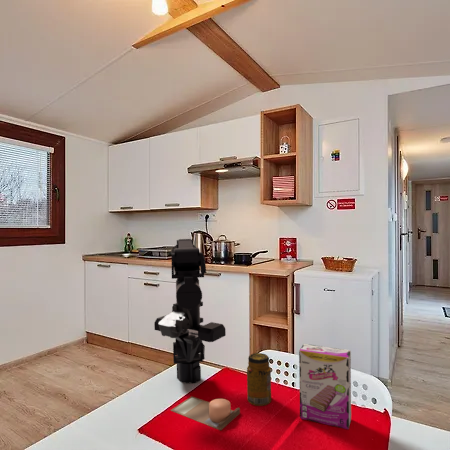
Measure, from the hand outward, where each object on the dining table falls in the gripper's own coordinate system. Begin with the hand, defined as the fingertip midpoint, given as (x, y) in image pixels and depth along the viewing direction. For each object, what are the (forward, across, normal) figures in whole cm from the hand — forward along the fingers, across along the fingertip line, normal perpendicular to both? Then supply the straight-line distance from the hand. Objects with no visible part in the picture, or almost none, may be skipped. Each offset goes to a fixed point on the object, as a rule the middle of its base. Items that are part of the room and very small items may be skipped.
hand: (189, 361), depth 86 cm
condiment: (+12, +14, +12) cm, 22 cm away
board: (+12, +4, 0) cm, 13 cm away
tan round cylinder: (+11, +9, 0) cm, 14 cm away
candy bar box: (+12, +30, +14) cm, 35 cm away
